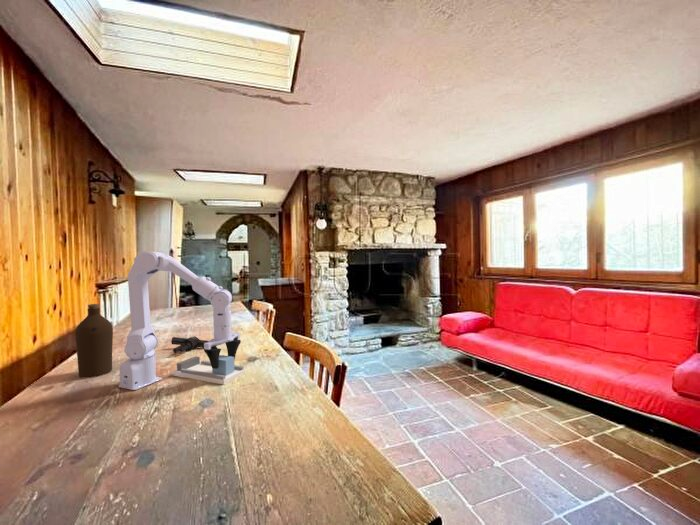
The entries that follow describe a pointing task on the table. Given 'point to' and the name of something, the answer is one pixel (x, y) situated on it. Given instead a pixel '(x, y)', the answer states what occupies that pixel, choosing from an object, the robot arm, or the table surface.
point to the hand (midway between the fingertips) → (223, 364)
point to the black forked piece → (187, 343)
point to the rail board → (205, 371)
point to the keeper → (224, 365)
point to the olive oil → (94, 344)
